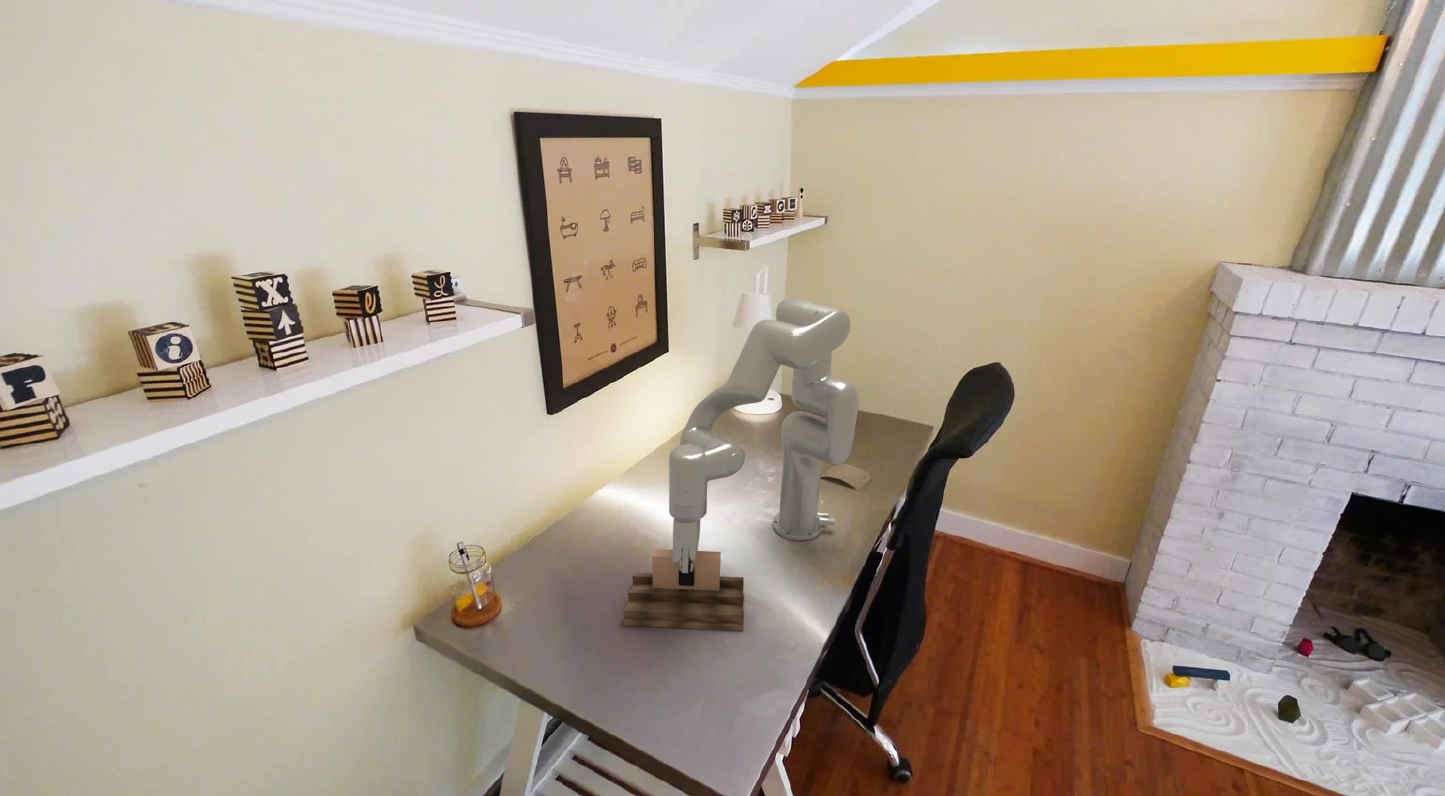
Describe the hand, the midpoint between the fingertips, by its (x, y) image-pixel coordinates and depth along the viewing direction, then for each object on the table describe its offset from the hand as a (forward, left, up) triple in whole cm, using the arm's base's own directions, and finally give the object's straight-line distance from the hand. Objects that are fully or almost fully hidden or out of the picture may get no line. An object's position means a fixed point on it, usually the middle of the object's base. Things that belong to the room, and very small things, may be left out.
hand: (687, 579), depth 124 cm
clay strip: (0, 0, -2) cm, 2 cm away
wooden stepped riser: (0, +3, -5) cm, 6 cm away
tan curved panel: (-43, -55, -6) cm, 70 cm away
